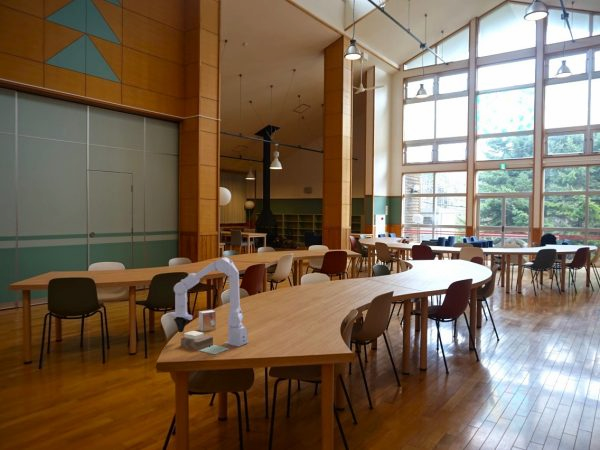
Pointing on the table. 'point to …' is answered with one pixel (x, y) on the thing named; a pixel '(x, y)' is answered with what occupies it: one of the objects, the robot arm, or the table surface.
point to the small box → (207, 320)
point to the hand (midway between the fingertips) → (181, 331)
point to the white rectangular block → (194, 335)
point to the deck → (197, 343)
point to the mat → (214, 349)
